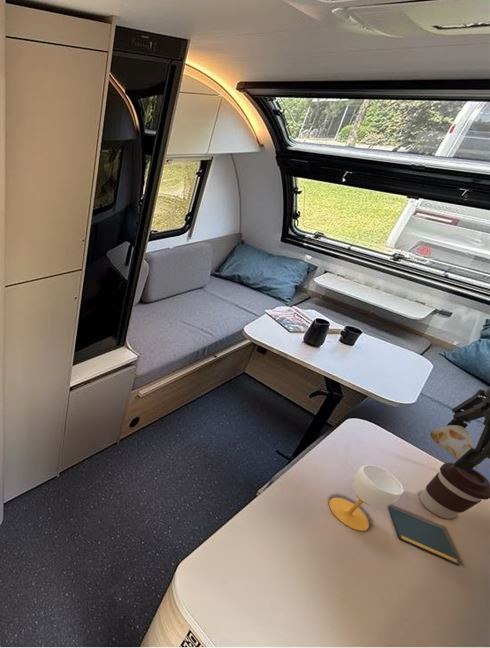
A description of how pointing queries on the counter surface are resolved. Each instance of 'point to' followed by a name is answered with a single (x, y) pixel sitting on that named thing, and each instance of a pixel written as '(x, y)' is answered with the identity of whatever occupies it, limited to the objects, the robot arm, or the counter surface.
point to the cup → (367, 495)
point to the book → (422, 535)
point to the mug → (453, 440)
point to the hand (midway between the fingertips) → (452, 452)
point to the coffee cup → (454, 491)
